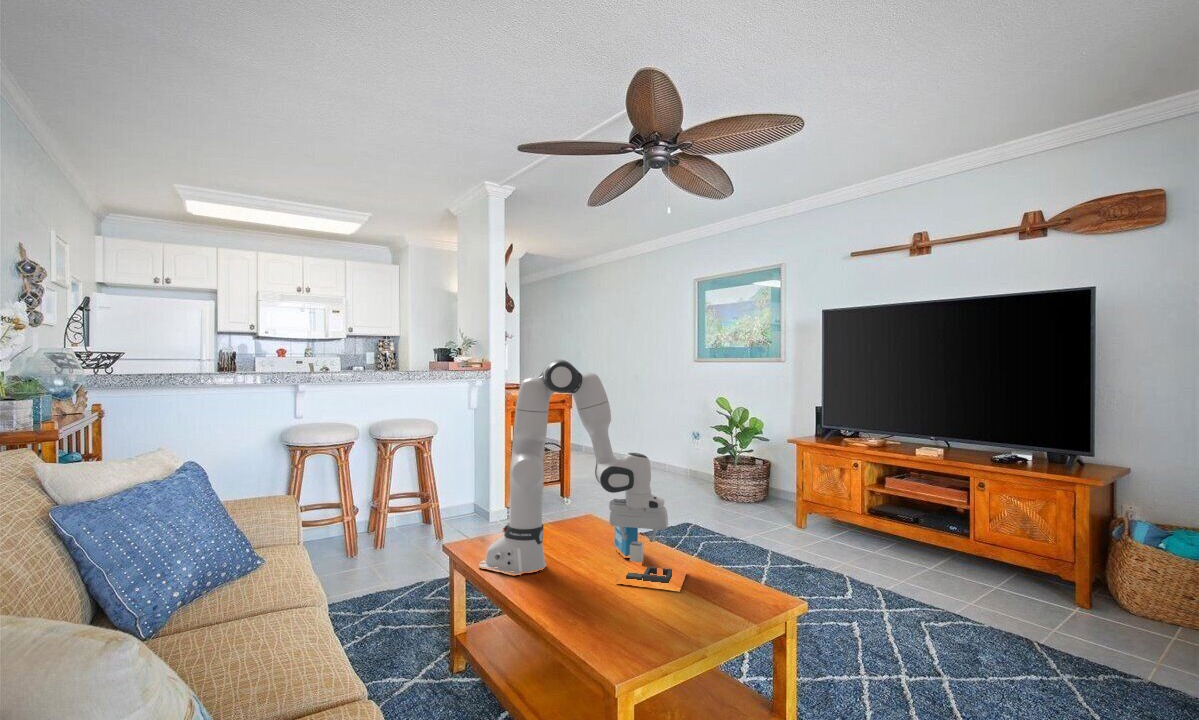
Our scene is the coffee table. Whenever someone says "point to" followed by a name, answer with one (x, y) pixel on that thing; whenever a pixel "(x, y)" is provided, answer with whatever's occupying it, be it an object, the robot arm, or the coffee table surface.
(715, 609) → the coffee table surface
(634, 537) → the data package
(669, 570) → the board
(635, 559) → the plug
